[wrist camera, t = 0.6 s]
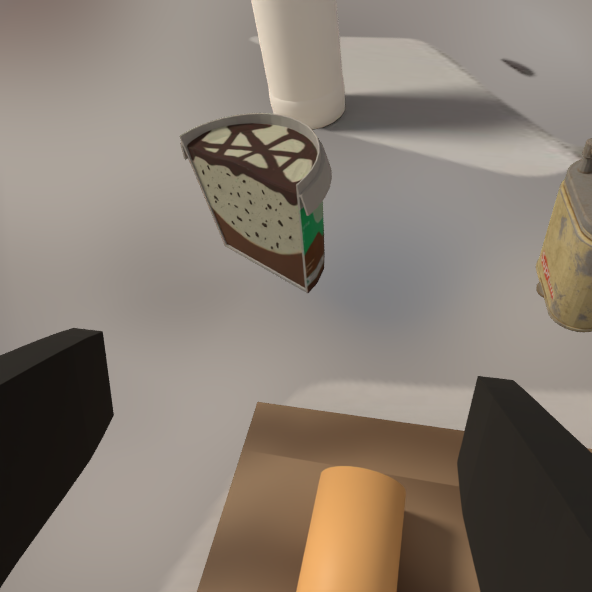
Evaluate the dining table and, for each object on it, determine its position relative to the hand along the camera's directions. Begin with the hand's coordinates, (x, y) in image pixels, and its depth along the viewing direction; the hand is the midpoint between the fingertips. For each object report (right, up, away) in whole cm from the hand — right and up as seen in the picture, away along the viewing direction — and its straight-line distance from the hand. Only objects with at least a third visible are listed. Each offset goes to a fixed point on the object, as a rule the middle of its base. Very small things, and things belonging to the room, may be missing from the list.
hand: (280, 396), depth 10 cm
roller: (+2, -10, +11) cm, 15 cm away
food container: (0, +6, +31) cm, 31 cm away
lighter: (+18, +2, +24) cm, 30 cm away
